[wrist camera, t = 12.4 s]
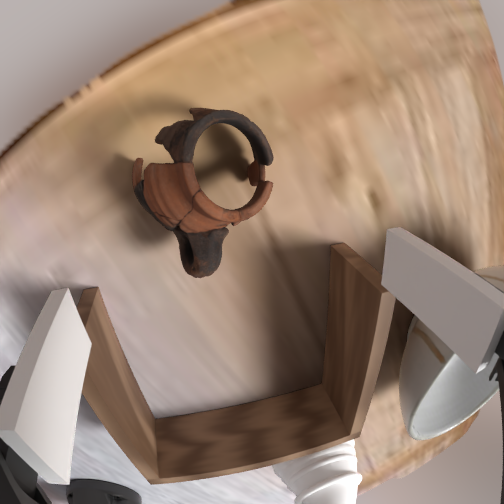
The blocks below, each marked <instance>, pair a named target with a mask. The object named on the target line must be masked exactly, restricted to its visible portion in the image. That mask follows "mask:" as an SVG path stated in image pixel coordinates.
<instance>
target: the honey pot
mask: <svg viewBox="0 0 504 504" xmlns="http://www.w3.org/2000/svg"><path fill="white" fill-rule="evenodd" d="M354 444H355V442H354V439H353V440H350V441H347V442H345V443H342V444H339V445H336V446H334V447H331V448H328V449H325V450H322V451H319V452H316V453H313V454H310V455H306V456H303V457H300V458H296V459H293V460H289V461H286V462H282V463H278V464H274V465H272V467H273V470H274V472H275V474H276V475H277V476H278V477H280V478H281V480H282V481H283V482H284V483H285V484H286V485H287V488H288V489H289V490H290V491H292V492H293V493H294V494H295V495H296V496H297V497H296V498H295V500H294V502H295V504H355V502H356V497H357V486H358V485H359V484H360V482H361V480H362V476H361V474H360V473H357V467H356V464H357V458H356V456H355V454H356V452H355V449H354Z"/></svg>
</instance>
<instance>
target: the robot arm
mask: <svg viewBox="0 0 504 504" xmlns="http://www.w3.org/2000/svg"><path fill="white" fill-rule="evenodd" d="M381 285H383V286H384V287H385V288H386V289H387V290H388V291H389V292H390V293H392V294H393V295H394V296H395V297H396V298H397V299H398V300H399V301H400V302H401V303H403V304H404V305H405V306H406V307H407V308H408V309H409V310H410V311H411V312H412V313H413V314H415V315H416V316H417V317H418V318H419V319H420V320H421V321H422V322H423V323H424V324H425V325H426V326H427V327H428V328H429V329H431V330H432V331H433V332H434V333H435V334H436V335H437V336H438V337H439V338H440V339H441V340H442V341H443V342H444V343H445V344H446V345H447V346H448V347H449V348H450V349H451V350H452V351H453V352H454V353H455V354H456V355H457V356H458V357H459V358H460V359H461V360H462V361H463V362H464V363H465V364H466V365H467V366H468V367H469V368H470V369H471V370H472V371H473V372H474V373H475V374H476V373H478V372H480V371H481V370H483V369H484V368H486V367H487V366H488V365H489V363H490V361H491V359H492V357H493V355H494V353H496V354H497V355H498V356H499V358H498V360H497V362H496V364H495V366H494V368H493V370H492V372H491V374H490V376H489V381H491V380H492V378H493V377H494V375H495V373H497V374H498V375H497V377H496V379H495V381H498V382H499V390H500V400H501V412H502V428H503V429H502V430H503V476H502V493H501V504H504V292H503V291H501V290H500V289H498V288H497V287H494V286H493V284H491V283H490V282H488V281H486V280H485V279H484V278H482V277H481V276H480V275H478V274H476V273H474V272H472V271H470V270H469V269H467V268H466V267H464V266H463V265H461V264H460V263H458V262H457V261H455V260H454V259H452V258H451V257H449V256H447V255H446V254H444V253H443V252H441V251H439V250H438V249H436V248H435V247H433V246H431V245H430V244H428V243H427V242H425V241H423V240H422V239H420V238H418V237H417V236H415V235H413V234H412V233H410V232H408V231H406V230H405V229H403V228H401V227H397V228H391V229H387V235H386V246H385V256H384V265H383V273H382V281H381ZM91 345H92V343H91V341H90V339H89V337H88V334H87V332H86V330H85V327H84V325H83V323H82V320H81V318H80V316H79V313H78V311H77V308H76V306H75V303H74V301H73V298H72V296H71V293H70V290H69V288H64V289H58V290H53V291H52V292H51V293H50V295H49V297H48V299H47V301H46V303H45V305H44V307H43V309H42V311H41V313H40V315H39V316H38V318H37V321H36V323H35V325H34V327H33V329H32V331H31V333H30V335H29V337H28V339H27V341H26V344H25V346H24V348H23V350H22V353H21V355H20V357H19V359H18V362H17V364H16V366H11V367H10V368H9V369H8V370H7V371H6V373H5V374H4V375H3V376H2V379H1V381H0V504H52V503H51V501H50V500H49V498H48V497H47V495H46V494H45V492H44V491H43V489H42V488H41V487H40V486H39V485H38V484H37V476H38V475H39V476H40V477H42V478H43V479H44V480H45V481H46V482H47V483H50V484H64V485H67V491H66V495H67V499H68V503H69V504H142V501H141V496H140V495H139V494H138V493H136V492H135V491H133V490H131V489H129V488H126V487H124V486H120V485H117V484H113V483H109V482H104V481H97V480H74V481H71V482H70V472H71V462H72V452H73V444H74V436H75V429H76V422H77V416H78V410H79V404H80V398H81V393H82V387H83V382H84V377H85V372H86V367H87V363H88V358H89V354H90V349H91Z"/></svg>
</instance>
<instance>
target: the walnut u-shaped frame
mask: <svg viewBox="0 0 504 504" xmlns="http://www.w3.org/2000/svg"><path fill="white" fill-rule="evenodd" d="M381 281H382V275H381V274H380V273H379V272H378V271H377V270H376V269H374V268H373V267H372V266H371V265H370V264H369V263H368V262H366V261H365V260H364V259H363V258H362V257H361V256H359V255H358V254H357V253H356V252H355V251H353V250H352V249H351V248H350V247H349V246H348V245H346V244H345V243H341V244H335V245H331V254H330V280H329V300H328V316H327V330H326V343H325V355H324V366H323V376H322V384H319V385H316V386H312V387H309V388H305V389H302V390H298V391H295V392H291V393H287V394H284V395H280V396H276V397H272V398H268V399H264V400H259V401H255V402H251V403H246V404H242V405H237V406H232V407H227V408H222V409H217V410H211V411H206V412H200V413H194V414H188V415H181V416H174V417H167V418H159V419H155V417H154V415H153V414H152V412H151V410H150V408H149V406H148V404H147V402H146V400H145V398H144V396H143V394H142V392H141V390H140V388H139V385H138V383H137V381H136V379H135V377H134V375H133V373H132V370H131V368H130V366H129V364H128V362H127V359H126V357H125V355H124V352H123V350H122V348H121V345H120V343H119V340H118V338H117V336H116V333H115V331H114V328H113V326H112V323H111V320H110V318H109V315H108V312H107V310H106V307H105V304H104V302H103V299H102V296H101V293H100V290H99V287H96V288H90V289H84V291H83V293H82V296H81V298H80V301H79V303H78V306H77V311H78V313H79V316H80V318H81V320H82V323H83V325H84V327H85V330H86V332H87V334H88V337H89V339H90V341H91V343H92V345H91V349H90V354H89V358H88V363H87V367H86V372H85V377H84V382H83V387H82V394H83V395H84V397H85V399H86V400H87V402H88V403H89V405H90V406H91V408H92V409H93V411H94V412H95V414H96V415H97V417H98V418H99V420H100V421H101V422H102V424H103V425H104V427H105V428H106V429H107V431H108V432H109V434H110V435H111V436H112V438H113V439H114V440H115V442H116V443H117V444H118V446H119V447H120V448H121V449H122V451H123V452H124V453H125V454H126V456H127V457H128V458H129V459H130V461H131V462H132V463H133V464H134V466H135V467H136V468H137V469H138V470H139V471H140V473H141V474H142V475H143V476H144V477H145V478H146V480H147V481H148V482H149V483H150V484H151V485H152V484H165V483H175V482H184V481H192V480H199V479H206V478H212V477H218V476H224V475H229V474H235V473H240V472H244V471H249V470H254V469H258V468H262V467H266V466H270V465H274V464H278V463H282V462H286V461H289V460H293V459H296V458H300V457H303V456H306V455H310V454H313V453H316V452H319V451H322V450H325V449H328V448H331V447H334V446H336V445H339V444H342V443H345V442H347V441H350V440H353V439H355V438H358V437H359V436H360V433H361V431H362V428H363V425H364V422H365V419H366V415H367V412H368V409H369V406H370V403H371V399H372V396H373V393H374V389H375V386H376V382H377V378H378V375H379V371H380V367H381V363H382V359H383V355H384V351H385V347H386V343H387V339H388V334H389V330H390V325H391V320H392V315H393V310H394V305H395V300H396V297H395V296H394V295H393V294H392V293H390V292H389V291H388V290H387V289H386V288H385V287H384V286H383V285H381Z"/></svg>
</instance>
